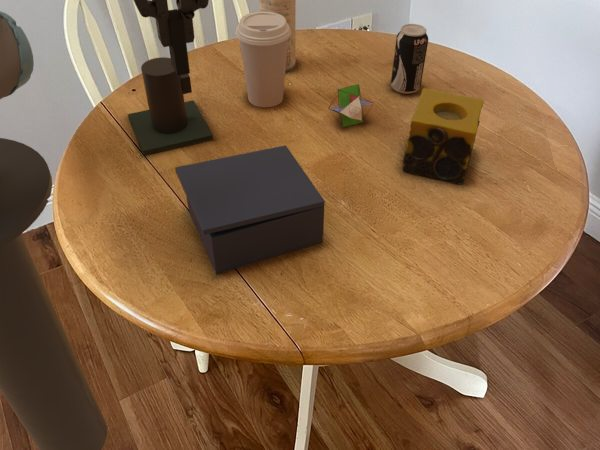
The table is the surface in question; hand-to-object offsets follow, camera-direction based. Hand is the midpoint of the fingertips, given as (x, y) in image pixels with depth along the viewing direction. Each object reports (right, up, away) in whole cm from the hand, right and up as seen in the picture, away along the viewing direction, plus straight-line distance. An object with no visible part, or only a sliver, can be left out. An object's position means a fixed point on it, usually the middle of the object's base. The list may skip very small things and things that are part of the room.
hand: (180, 68), depth 68 cm
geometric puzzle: (+23, 0, +36) cm, 43 cm away
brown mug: (-9, -1, +33) cm, 34 cm away
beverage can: (+34, +8, +45) cm, 57 cm away
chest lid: (+7, -13, +11) cm, 19 cm away
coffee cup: (+8, +5, +42) cm, 43 cm away
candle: (+36, -8, +28) cm, 47 cm away
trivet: (-9, -1, +34) cm, 35 cm away
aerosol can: (+10, +14, +51) cm, 54 cm away
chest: (+7, -18, +16) cm, 26 cm away
